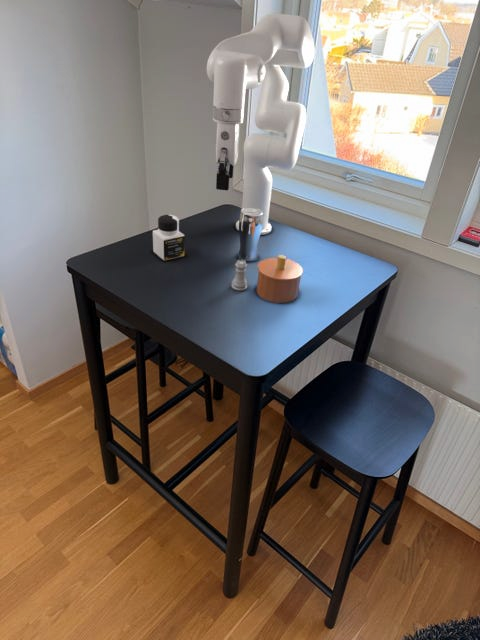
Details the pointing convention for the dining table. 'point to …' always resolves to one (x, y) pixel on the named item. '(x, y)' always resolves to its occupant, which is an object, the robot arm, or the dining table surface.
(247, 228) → the metal shaker cup
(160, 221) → the medicine bottle
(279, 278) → the pot lid
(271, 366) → the dining table surface
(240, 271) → the rook chess piece
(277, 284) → the pot
